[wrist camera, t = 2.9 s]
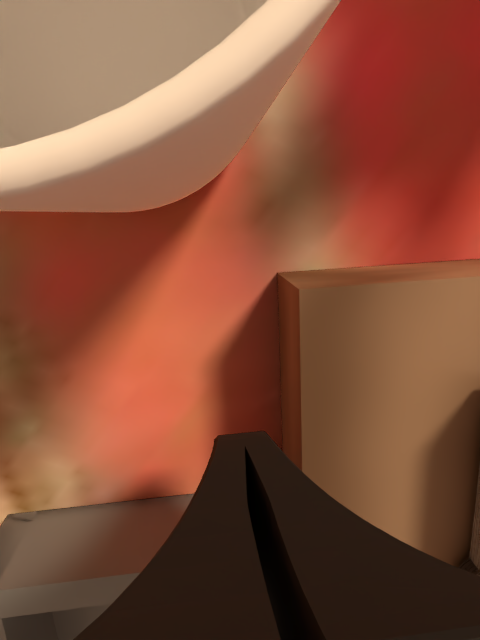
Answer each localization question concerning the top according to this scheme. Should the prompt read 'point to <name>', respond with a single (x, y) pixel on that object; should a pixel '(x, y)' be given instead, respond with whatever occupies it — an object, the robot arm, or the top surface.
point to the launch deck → (387, 394)
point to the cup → (137, 94)
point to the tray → (76, 562)
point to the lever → (474, 539)
